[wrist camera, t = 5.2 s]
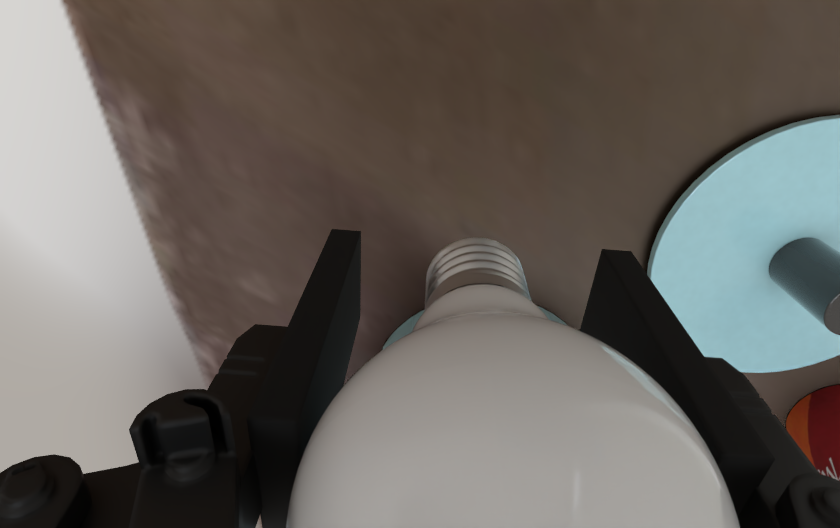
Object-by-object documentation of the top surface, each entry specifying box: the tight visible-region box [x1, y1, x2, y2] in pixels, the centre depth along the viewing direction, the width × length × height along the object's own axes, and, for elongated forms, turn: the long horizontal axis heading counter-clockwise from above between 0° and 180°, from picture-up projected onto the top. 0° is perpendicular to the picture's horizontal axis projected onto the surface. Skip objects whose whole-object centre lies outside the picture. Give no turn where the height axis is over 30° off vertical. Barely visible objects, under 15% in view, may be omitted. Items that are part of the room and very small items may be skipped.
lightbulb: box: [285, 237, 741, 528], centre depth 10 cm, size 6×6×11 cm
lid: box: [647, 115, 840, 373], centre depth 25 cm, size 15×15×6 cm
